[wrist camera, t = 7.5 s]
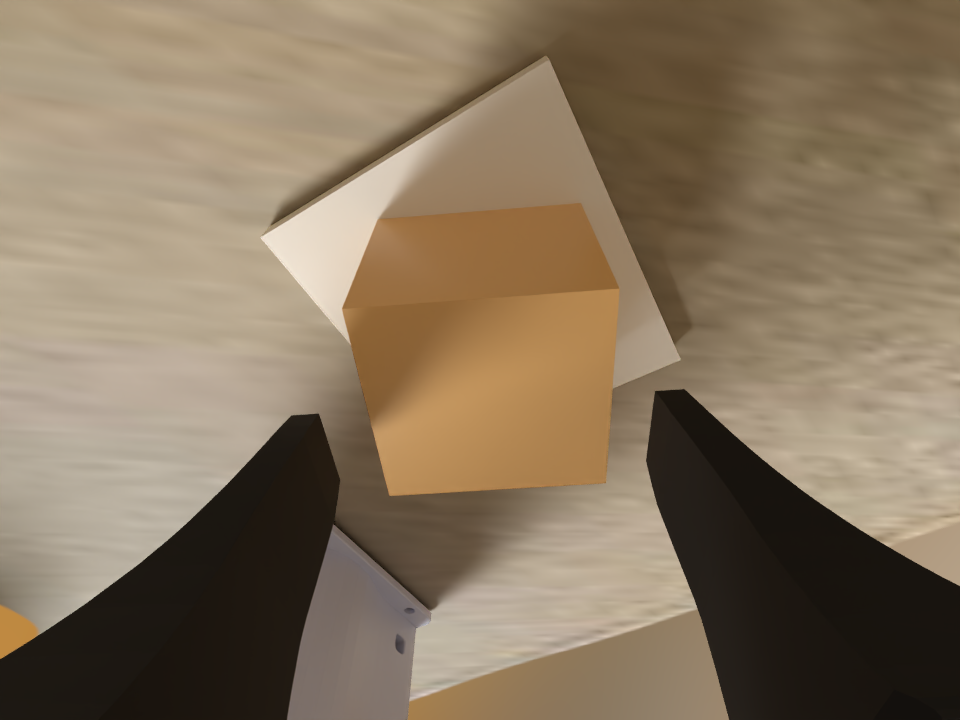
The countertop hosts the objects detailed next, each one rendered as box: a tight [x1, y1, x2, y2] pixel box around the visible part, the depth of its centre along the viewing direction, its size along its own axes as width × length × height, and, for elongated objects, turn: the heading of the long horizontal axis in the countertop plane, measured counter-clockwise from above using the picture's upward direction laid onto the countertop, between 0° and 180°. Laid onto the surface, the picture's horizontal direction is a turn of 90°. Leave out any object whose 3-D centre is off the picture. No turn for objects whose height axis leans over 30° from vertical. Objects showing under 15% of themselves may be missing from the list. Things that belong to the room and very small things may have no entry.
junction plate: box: [260, 56, 681, 388], centre depth 16 cm, size 10×9×4 cm
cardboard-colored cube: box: [342, 203, 620, 496], centre depth 15 cm, size 6×6×5 cm
